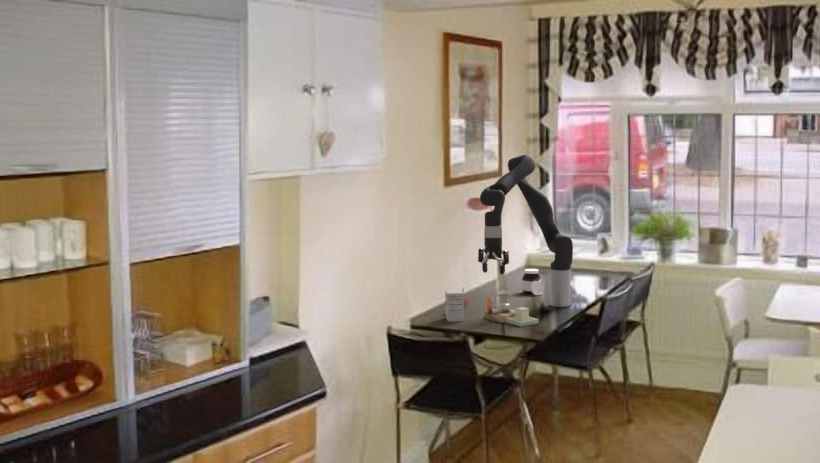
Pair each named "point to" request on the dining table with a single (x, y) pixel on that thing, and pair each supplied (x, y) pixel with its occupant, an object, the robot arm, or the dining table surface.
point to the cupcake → (465, 303)
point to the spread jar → (532, 282)
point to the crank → (502, 307)
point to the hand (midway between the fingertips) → (493, 273)
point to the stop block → (522, 314)
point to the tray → (524, 323)
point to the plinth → (500, 315)
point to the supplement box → (454, 305)
